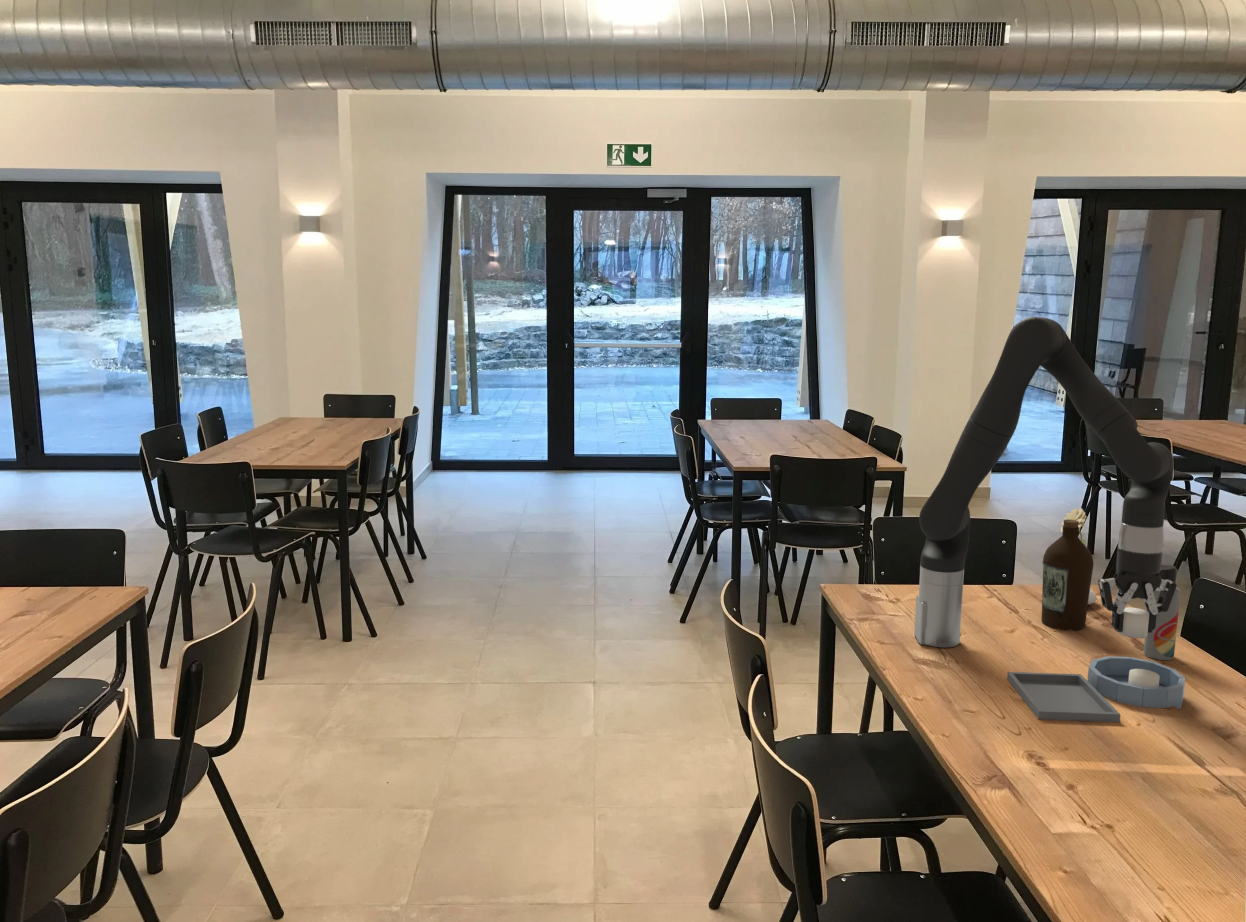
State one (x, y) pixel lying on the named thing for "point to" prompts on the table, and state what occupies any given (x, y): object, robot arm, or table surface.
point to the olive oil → (1066, 580)
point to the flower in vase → (1081, 518)
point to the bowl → (1113, 684)
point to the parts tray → (1062, 697)
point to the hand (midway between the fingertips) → (1132, 630)
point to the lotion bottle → (1164, 622)
